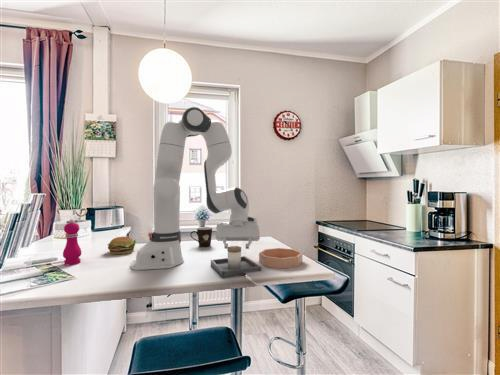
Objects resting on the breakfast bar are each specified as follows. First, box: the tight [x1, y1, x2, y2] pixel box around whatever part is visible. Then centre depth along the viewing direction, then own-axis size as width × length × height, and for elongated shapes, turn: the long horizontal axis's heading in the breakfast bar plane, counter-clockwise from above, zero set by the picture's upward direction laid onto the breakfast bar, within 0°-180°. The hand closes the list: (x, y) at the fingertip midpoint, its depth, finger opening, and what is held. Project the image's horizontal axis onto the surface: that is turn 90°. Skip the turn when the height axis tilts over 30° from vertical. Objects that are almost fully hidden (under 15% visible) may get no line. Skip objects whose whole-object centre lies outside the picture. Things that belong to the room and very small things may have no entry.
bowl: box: [258, 247, 303, 269], centre depth 129 cm, size 18×18×5 cm
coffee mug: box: [189, 226, 213, 248], centre depth 167 cm, size 12×9×10 cm
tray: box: [210, 255, 262, 279], centre depth 122 cm, size 16×18×2 cm
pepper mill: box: [62, 218, 82, 266], centre depth 133 cm, size 7×7×20 cm
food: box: [107, 236, 137, 255], centre depth 153 cm, size 14×14×8 cm
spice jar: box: [226, 245, 242, 269], centre depth 122 cm, size 6×6×8 cm
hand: (236, 248), depth 130 cm, fingers open, 8 cm apart
